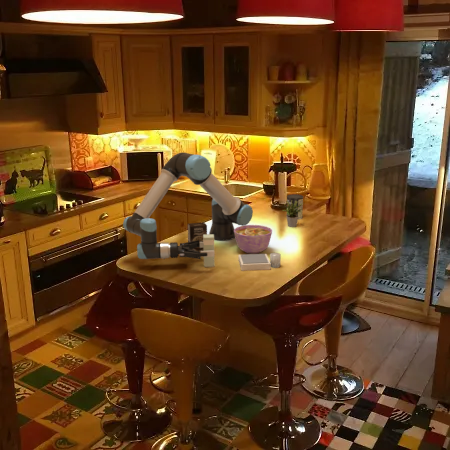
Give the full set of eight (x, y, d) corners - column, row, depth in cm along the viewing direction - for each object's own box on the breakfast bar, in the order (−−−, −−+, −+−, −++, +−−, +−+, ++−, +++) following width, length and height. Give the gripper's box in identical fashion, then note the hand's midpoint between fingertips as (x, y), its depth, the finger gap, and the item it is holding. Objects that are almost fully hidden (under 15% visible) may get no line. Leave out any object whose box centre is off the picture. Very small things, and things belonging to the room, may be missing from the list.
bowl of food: (262, 243, 295) (262, 223, 291) (278, 254, 277) (279, 233, 273) (228, 247, 288) (228, 227, 284) (242, 259, 270) (242, 238, 267)
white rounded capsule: (269, 264, 264) (269, 252, 262) (279, 264, 264) (279, 252, 262) (270, 268, 259) (271, 256, 257) (281, 267, 259) (281, 256, 257)
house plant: (304, 230, 317) (305, 203, 312) (280, 229, 319) (281, 203, 314) (304, 223, 330) (305, 198, 326) (282, 222, 332) (282, 197, 328)
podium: (238, 260, 269) (238, 254, 268) (266, 259, 270) (266, 253, 269) (241, 270, 256) (241, 263, 255) (270, 269, 257) (270, 262, 256)
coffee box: (190, 256, 275) (189, 226, 270) (188, 252, 281) (187, 223, 276) (207, 255, 277) (207, 225, 273) (204, 251, 283) (204, 221, 279)
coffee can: (290, 220, 338) (291, 198, 334) (283, 216, 347) (284, 195, 343) (305, 218, 341) (306, 197, 337) (298, 214, 350) (299, 193, 346)
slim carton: (203, 263, 266) (203, 234, 261) (214, 263, 266) (213, 234, 262) (204, 267, 261) (203, 237, 256) (214, 266, 261) (214, 237, 257)
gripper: (170, 249, 272) (212, 247, 274) (169, 266, 249) (215, 265, 250) (169, 235, 270) (212, 233, 272) (168, 251, 246) (215, 249, 248)
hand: (213, 248), depth 261 cm, fingers open, 13 cm apart
